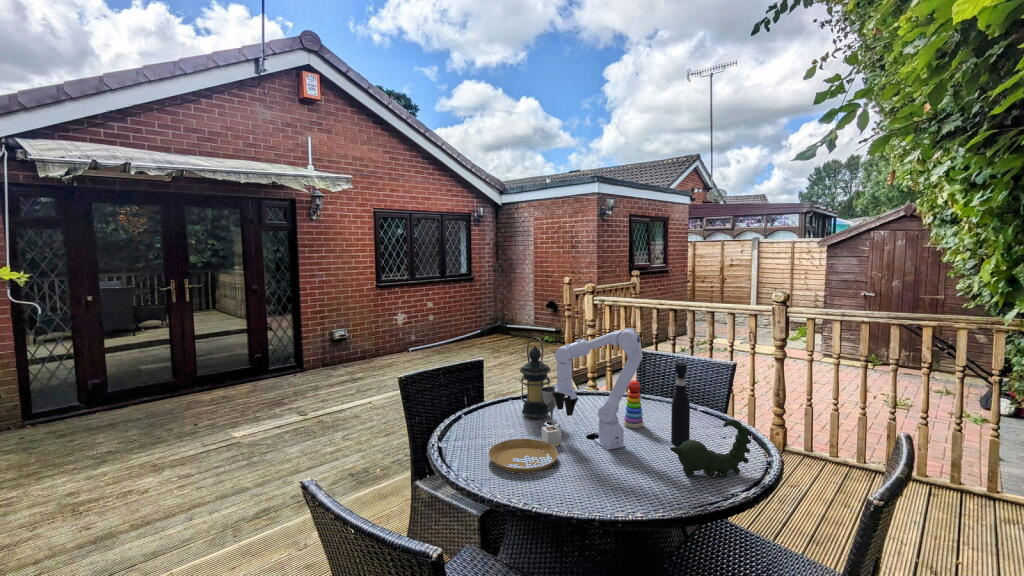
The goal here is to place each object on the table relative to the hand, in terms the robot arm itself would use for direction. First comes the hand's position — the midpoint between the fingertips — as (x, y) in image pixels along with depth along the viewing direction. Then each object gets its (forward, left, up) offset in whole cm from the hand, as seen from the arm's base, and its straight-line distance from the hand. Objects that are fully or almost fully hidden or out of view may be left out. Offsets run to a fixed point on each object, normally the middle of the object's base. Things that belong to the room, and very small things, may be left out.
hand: (564, 412), depth 183 cm
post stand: (-3, +8, -10) cm, 13 cm away
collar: (-3, +8, -9) cm, 12 cm away
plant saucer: (-12, +23, -11) cm, 28 cm away
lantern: (+27, +1, -10) cm, 29 cm away
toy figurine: (-45, -28, -10) cm, 54 cm away
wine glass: (+15, -1, -10) cm, 18 cm away
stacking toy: (0, -31, -10) cm, 33 cm away
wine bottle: (-22, -36, -10) cm, 44 cm away
